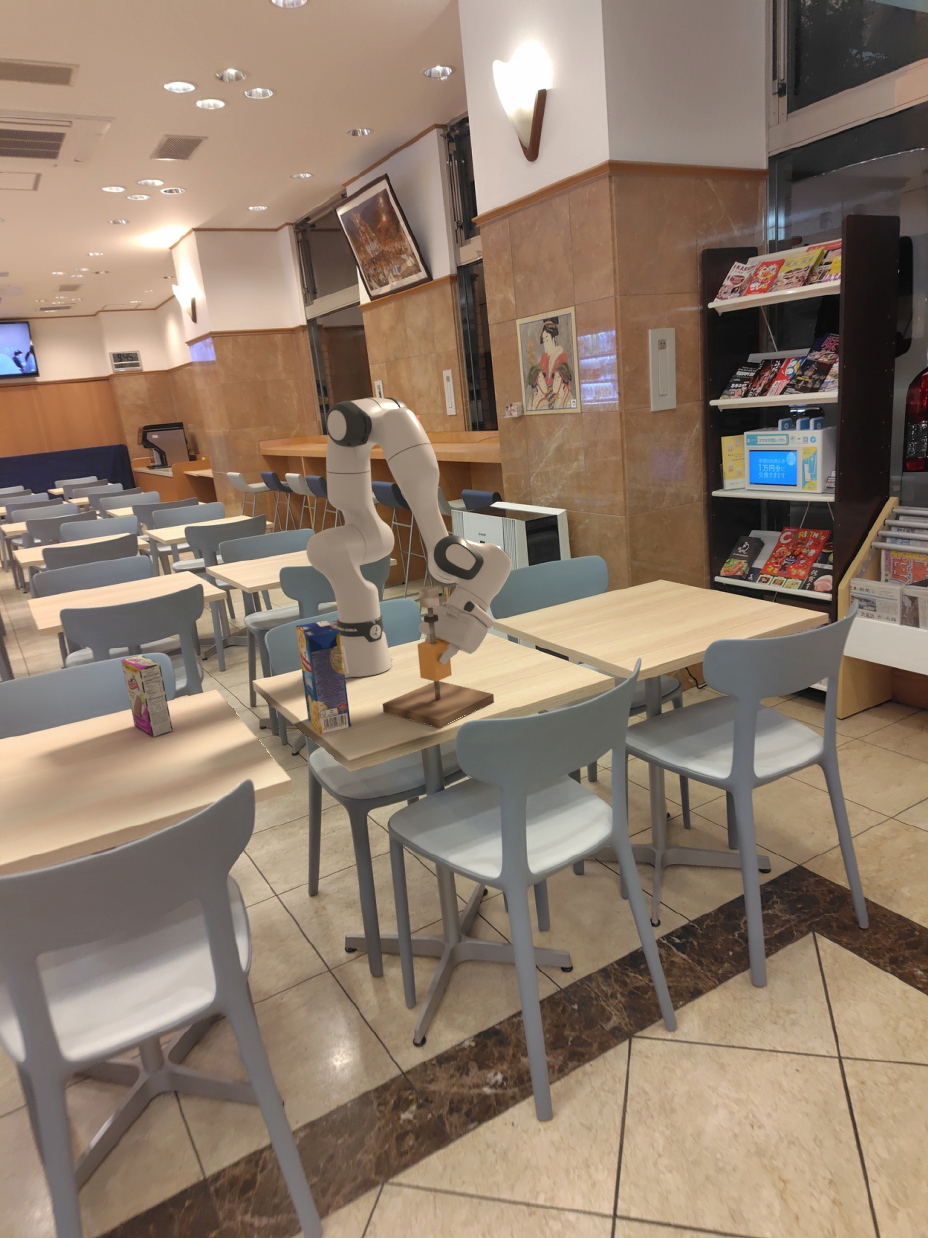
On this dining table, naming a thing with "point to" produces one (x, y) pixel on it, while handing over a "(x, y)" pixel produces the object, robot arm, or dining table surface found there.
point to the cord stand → (436, 687)
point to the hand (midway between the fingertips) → (432, 658)
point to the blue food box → (323, 676)
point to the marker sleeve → (433, 660)
